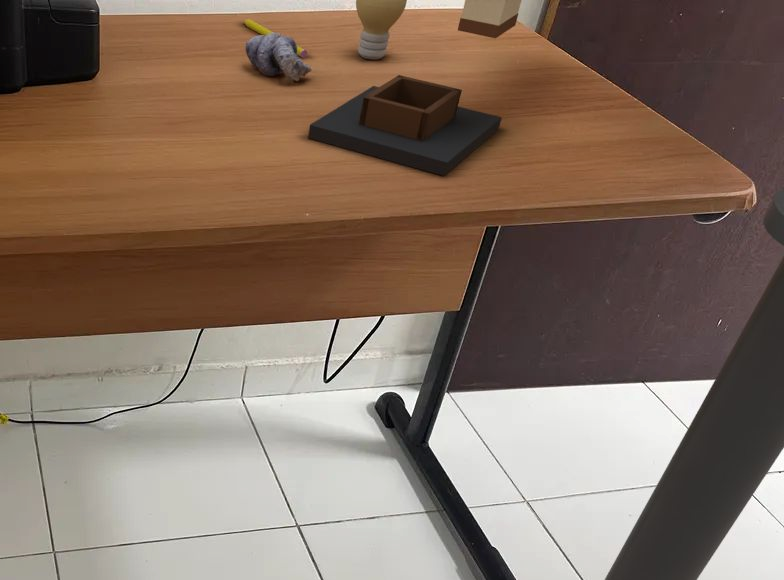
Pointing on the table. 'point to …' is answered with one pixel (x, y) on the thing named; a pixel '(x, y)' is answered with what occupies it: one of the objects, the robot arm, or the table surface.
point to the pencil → (265, 31)
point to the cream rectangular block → (489, 17)
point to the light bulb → (377, 25)
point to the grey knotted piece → (276, 56)
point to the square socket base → (408, 125)
